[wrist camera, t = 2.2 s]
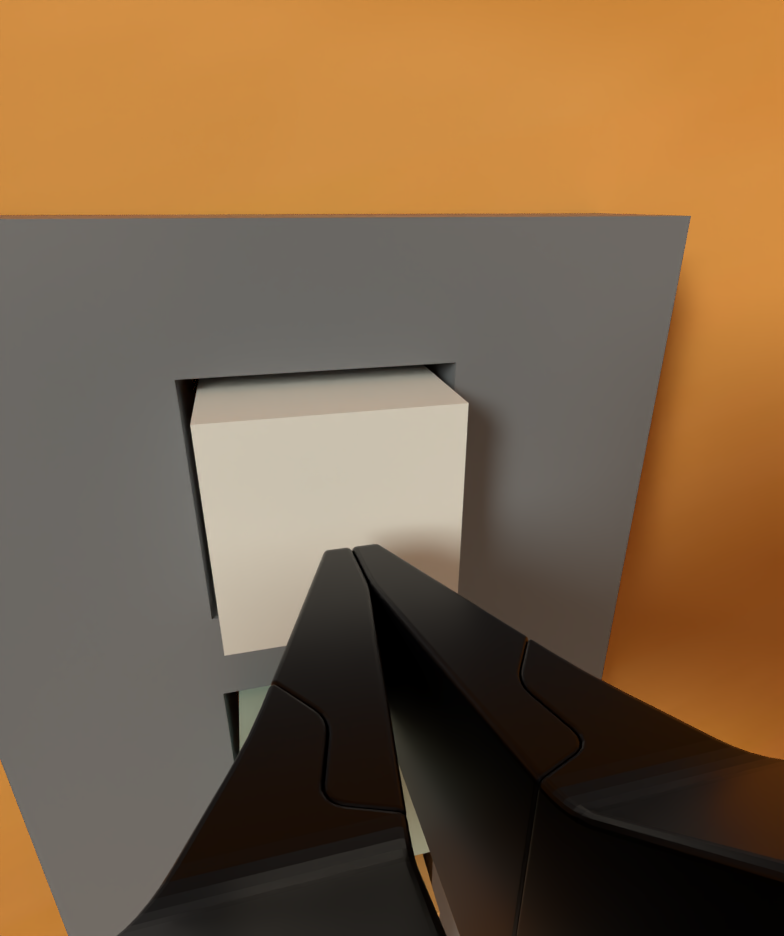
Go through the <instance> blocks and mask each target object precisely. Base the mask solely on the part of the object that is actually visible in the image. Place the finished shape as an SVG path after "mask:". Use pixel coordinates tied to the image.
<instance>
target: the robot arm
mask: <svg viewBox="0 0 784 936" xmlns="http://www.w3.org/2000/svg"><path fill="white" fill-rule="evenodd" d="M399 767H400V770H401V772H402V775H403V778H404V781H405V784H406V786H407V789H408V792H409V795H410V798H411V800H412V803H413V806H414V809H415V812H416V814H417V817H418V820H419V823H420V826H421V828H422V831H423V834H424V837H425V840H426V842H427V845H428V848H429V851H430V854H431V856H432V859H433V862H434V865H435V868H436V870H437V873H438V876H439V879H440V882H441V884H442V887H443V890H444V893H445V896H446V899H447V901H448V904H449V907H450V910H451V913H452V915H453V918H454V921H455V924H456V927H457V929H458V932H459V935H460V936H784V760H782V759H775V758H769V757H765V756H761V755H758V754H754V753H750V752H747V751H744V750H742V749H739V748H736V747H733V746H731V745H729V744H727V743H725V742H723V741H720V740H718V739H716V738H714V737H712V736H710V735H708V734H706V733H704V732H702V731H700V730H698V729H696V728H694V727H692V726H690V725H688V724H686V723H684V722H682V721H680V720H679V719H677V718H675V717H673V716H671V715H669V714H667V713H665V712H663V711H661V710H659V709H657V708H655V707H653V706H651V705H649V704H647V703H645V702H643V701H641V700H639V699H637V698H635V697H633V696H631V695H629V694H627V693H625V692H623V691H621V690H619V689H618V688H616V687H614V686H612V685H610V684H608V683H606V682H604V681H602V680H601V679H599V678H597V677H595V676H593V675H591V674H589V673H587V672H586V671H584V670H582V669H580V668H579V667H577V666H575V665H573V664H572V663H570V662H568V661H567V660H565V659H563V658H562V657H560V656H558V655H556V654H555V653H553V652H551V651H550V650H548V649H547V648H545V647H543V646H542V645H540V644H539V643H537V642H535V641H534V640H532V639H530V640H528V638H527V636H525V635H524V634H522V633H520V632H519V631H517V630H516V629H514V628H512V627H511V626H509V625H508V624H506V623H504V622H503V621H501V620H500V619H498V618H496V617H495V616H493V615H491V614H490V613H488V612H487V611H485V610H483V609H482V608H480V607H479V606H477V605H475V604H474V603H472V602H471V601H469V600H467V599H466V598H464V597H463V596H461V595H459V594H458V593H456V592H454V591H453V590H451V589H450V588H448V587H446V586H445V585H443V584H442V583H440V582H438V581H437V580H435V579H434V578H432V577H430V576H429V575H427V574H426V573H424V572H422V571H421V570H419V569H417V568H416V567H414V566H413V565H411V564H409V563H408V562H406V561H405V560H403V559H401V558H400V557H398V556H397V555H395V554H393V553H392V552H390V551H388V550H387V549H385V548H384V547H382V546H380V545H378V544H370V545H363V546H356V547H354V548H353V549H352V550H351V549H350V548H339V549H332V550H326V551H325V552H324V554H323V556H322V558H321V561H320V563H319V566H318V568H317V571H316V573H315V576H314V578H313V581H312V583H311V586H310V588H309V591H308V593H307V595H306V598H305V600H304V603H303V605H302V608H301V610H300V613H299V615H298V618H297V620H296V623H295V625H294V628H293V630H292V633H291V635H290V638H289V640H288V642H287V645H286V647H285V650H284V652H283V655H282V657H281V660H280V662H279V665H278V667H277V670H276V672H275V675H274V677H273V680H272V682H271V686H270V687H269V689H268V691H267V694H266V696H265V699H264V701H263V703H262V706H261V708H260V710H259V713H258V715H257V717H256V719H255V721H254V724H253V726H252V728H251V730H250V732H249V735H248V737H247V739H246V741H245V742H244V744H243V746H242V748H241V750H240V752H239V753H238V755H237V757H236V759H235V761H234V762H233V764H232V766H231V768H230V770H229V772H228V773H227V775H226V777H225V778H224V780H223V782H222V784H221V785H220V787H219V789H218V790H217V792H216V794H215V795H214V797H213V799H212V800H211V802H210V804H209V806H208V807H207V809H206V811H205V812H204V814H203V816H202V817H201V819H200V821H199V822H198V824H197V826H196V828H195V829H194V831H193V833H192V834H191V836H190V838H189V839H188V841H187V843H186V844H185V846H184V848H183V850H182V851H181V853H180V855H179V856H178V858H177V860H176V861H175V863H174V865H173V866H172V868H171V870H170V871H169V873H168V875H167V876H166V878H165V879H164V881H163V883H162V884H161V886H160V887H159V889H158V890H157V891H156V893H155V894H154V896H153V897H152V898H151V900H150V901H149V902H148V904H147V905H146V906H145V907H144V908H143V910H142V911H141V912H140V913H139V914H138V916H137V917H136V918H135V919H134V920H133V921H132V922H131V923H130V924H129V925H128V926H127V927H126V928H125V929H124V930H123V931H122V932H121V933H119V934H118V935H117V936H447V935H446V933H445V930H444V928H443V926H442V923H441V921H440V918H439V916H438V914H437V911H436V909H435V907H434V904H433V902H432V900H431V897H430V895H429V892H428V890H427V888H426V885H425V883H424V881H423V878H422V876H421V874H420V871H419V869H418V866H417V863H416V860H415V855H414V851H413V847H412V842H411V837H410V831H409V826H408V820H407V817H406V815H407V813H406V807H405V801H404V794H403V788H402V782H401V776H400V770H399Z"/></svg>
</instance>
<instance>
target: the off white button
mask: <svg viewBox="0 0 784 936" xmlns="http://www.w3.org/2000/svg"><path fill="white" fill-rule="evenodd" d="M468 406H469V403H468V402H467V401H466V400H464V399H463V398H462V397H461V396H460V395H458V394H457V393H456V392H455V391H454V390H453V389H451V388H450V387H449V386H448V385H447V384H445V383H444V382H443V381H442V380H441V379H439V378H438V377H437V376H436V375H435V374H434V373H432V372H431V371H430V370H429V369H428V368H426V367H425V366H424V365H423V364H422V365H406V366H390V367H374V368H358V369H342V370H326V371H309V372H293V373H277V374H261V375H245V376H229V377H213V378H199V381H198V386H197V391H196V397H195V402H194V407H193V413H192V418H191V423H190V427H191V434H192V441H193V447H194V454H195V461H196V467H197V474H198V481H199V488H200V494H201V501H202V508H203V515H204V521H205V528H206V535H207V541H208V548H209V555H210V562H211V568H212V575H213V582H214V588H215V595H216V602H217V609H218V615H219V622H220V629H221V635H222V642H223V649H224V656H226V655H232V654H238V653H245V652H251V651H257V650H263V649H269V648H275V647H281V646H286V645H287V642H288V640H289V638H290V635H291V633H292V630H293V628H294V625H295V623H296V620H297V618H298V615H299V613H300V610H301V608H302V605H303V603H304V600H305V598H306V595H307V593H308V591H309V588H310V586H311V583H312V581H313V578H314V576H315V573H316V571H317V568H318V566H319V563H320V561H321V558H322V556H323V554H324V552H325V551H326V550H332V549H339V548H350V549H351V550H352V549H353V548H354V547H356V546H363V545H370V544H378V545H380V546H382V547H384V548H385V549H387V550H388V551H390V552H392V553H393V554H395V555H397V556H398V557H400V558H401V559H403V560H405V561H406V562H408V563H409V564H411V565H413V566H414V567H416V568H417V569H419V570H421V571H422V572H424V573H426V574H427V575H429V576H430V577H432V578H434V579H435V580H437V581H438V582H440V583H442V584H443V585H445V586H446V587H448V588H450V589H451V590H453V591H454V592H456V593H458V581H459V564H460V546H461V529H462V511H463V494H464V476H465V458H466V441H467V423H468Z"/></svg>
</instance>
